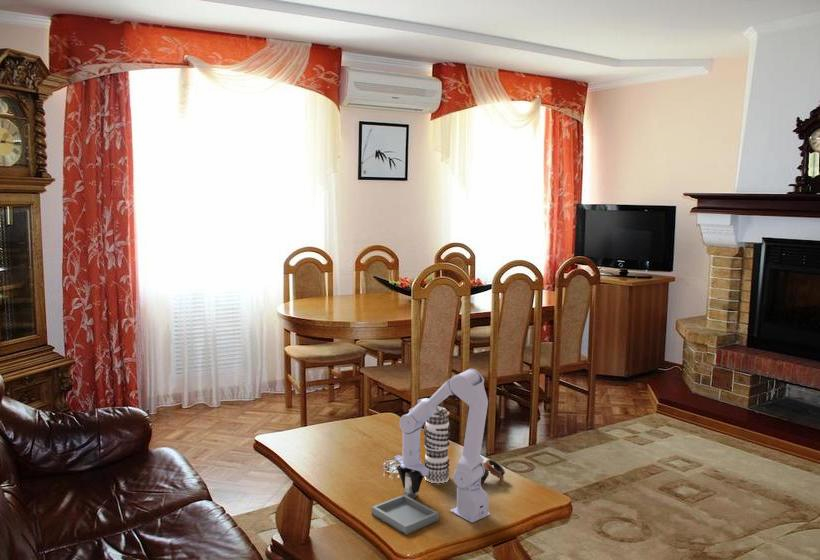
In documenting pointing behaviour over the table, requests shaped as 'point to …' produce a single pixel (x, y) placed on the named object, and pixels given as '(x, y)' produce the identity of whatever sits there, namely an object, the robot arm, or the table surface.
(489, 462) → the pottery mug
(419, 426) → the robot arm
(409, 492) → the shaker
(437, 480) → the decorative candle
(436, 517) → the tray
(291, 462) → the table surface
